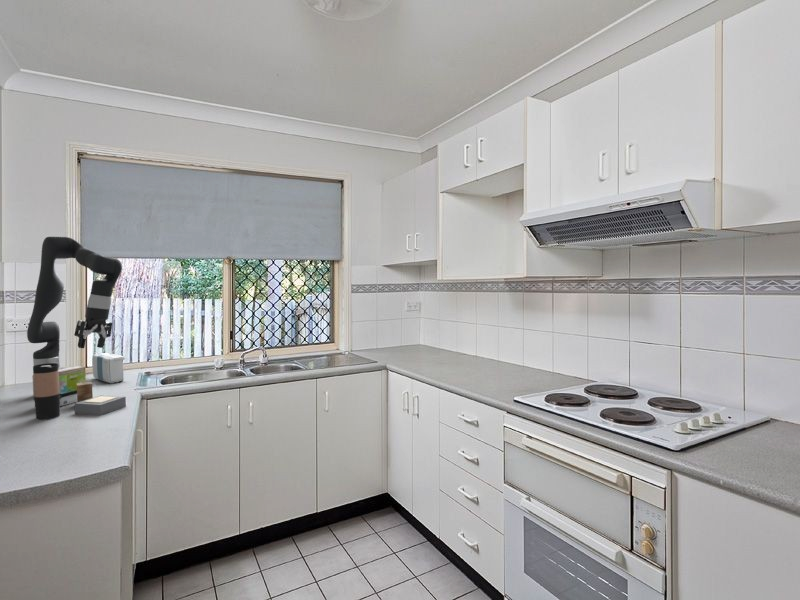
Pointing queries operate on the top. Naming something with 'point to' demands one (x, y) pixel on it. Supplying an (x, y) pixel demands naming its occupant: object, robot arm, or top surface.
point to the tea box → (70, 383)
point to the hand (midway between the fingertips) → (90, 347)
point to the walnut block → (84, 391)
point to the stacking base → (100, 405)
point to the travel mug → (46, 391)
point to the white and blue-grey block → (108, 367)
